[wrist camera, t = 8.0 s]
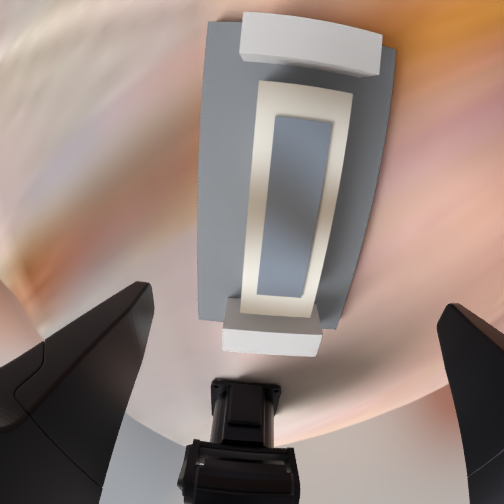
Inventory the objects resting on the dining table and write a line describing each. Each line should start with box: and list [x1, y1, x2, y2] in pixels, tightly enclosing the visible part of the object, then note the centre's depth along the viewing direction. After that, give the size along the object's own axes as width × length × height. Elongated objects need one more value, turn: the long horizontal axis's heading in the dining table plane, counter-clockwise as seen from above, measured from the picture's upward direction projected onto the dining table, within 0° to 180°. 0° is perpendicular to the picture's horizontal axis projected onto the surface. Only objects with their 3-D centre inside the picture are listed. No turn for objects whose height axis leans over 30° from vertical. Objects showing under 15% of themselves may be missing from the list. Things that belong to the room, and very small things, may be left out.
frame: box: [240, 80, 353, 318], centre depth 15 cm, size 12×4×3 cm, turn 175°
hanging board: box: [197, 12, 396, 357], centre depth 16 cm, size 19×10×4 cm, turn 175°
